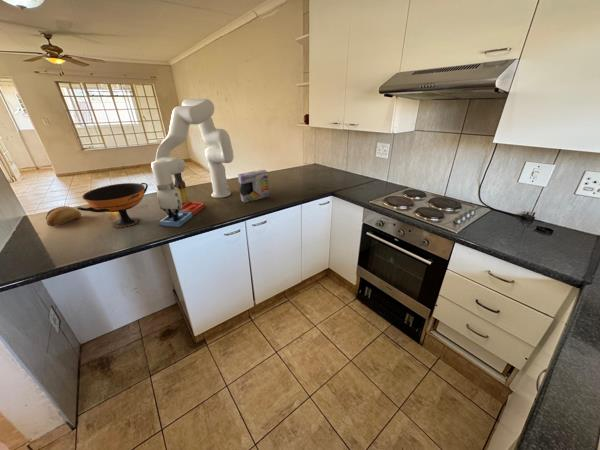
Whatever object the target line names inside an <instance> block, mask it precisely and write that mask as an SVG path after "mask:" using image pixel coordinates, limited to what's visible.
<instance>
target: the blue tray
mask: <svg viewBox="0 0 600 450" xmlns="http://www.w3.org/2000/svg"><path fill="white" fill-rule="evenodd" d="M178 213H183V217H181V218H179V220H177V221H176V222H174V221H169V216H168V215H166V216H165V217H164V218H162V219H160V220H159V224H160V226H163V227H164V226H165V227H176V228H177V227H178V228H180V227H181V226H182V225H184V224H185V223H187V222H188V221H189V220H190V219H192V218H193V217H194V215H193V214H192V212H181V211H179V212H178Z"/></svg>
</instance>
